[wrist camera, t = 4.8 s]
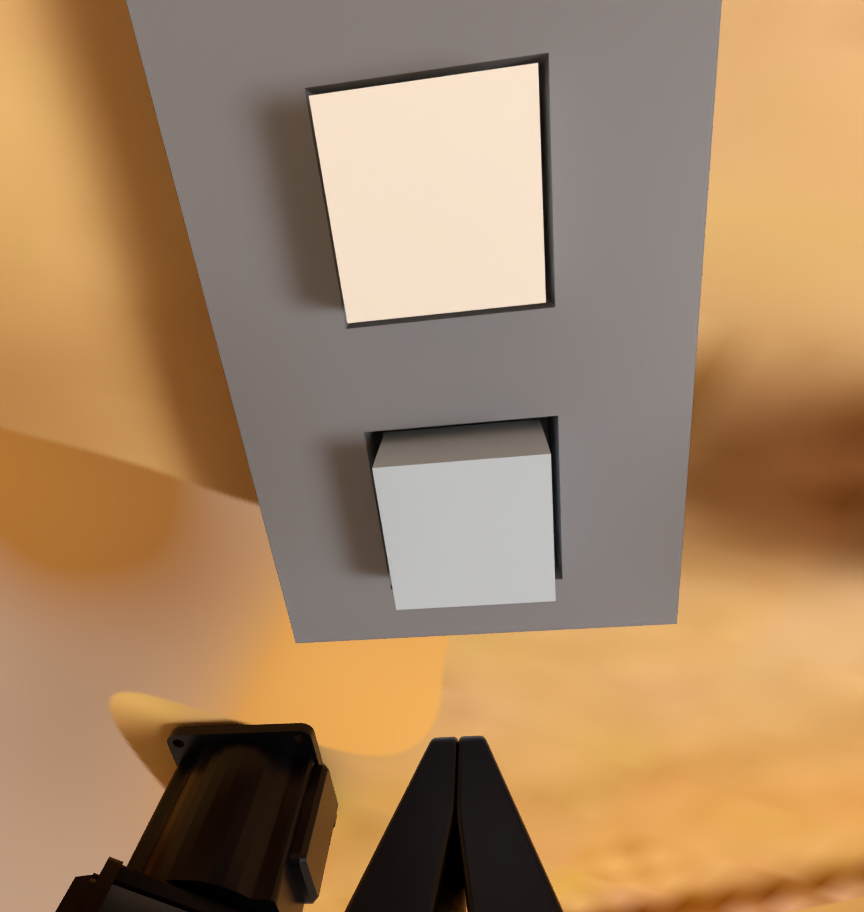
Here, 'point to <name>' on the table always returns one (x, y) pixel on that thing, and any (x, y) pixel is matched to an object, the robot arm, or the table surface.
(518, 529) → the bluegrey key
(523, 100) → the cream key
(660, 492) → the keypad
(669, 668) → the table surface
